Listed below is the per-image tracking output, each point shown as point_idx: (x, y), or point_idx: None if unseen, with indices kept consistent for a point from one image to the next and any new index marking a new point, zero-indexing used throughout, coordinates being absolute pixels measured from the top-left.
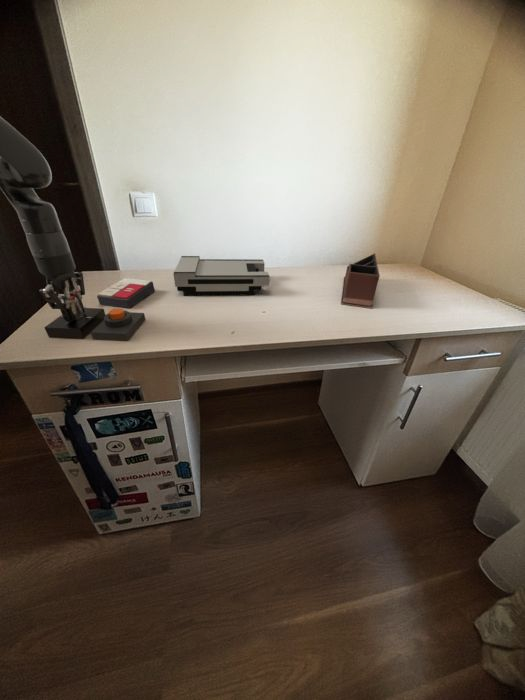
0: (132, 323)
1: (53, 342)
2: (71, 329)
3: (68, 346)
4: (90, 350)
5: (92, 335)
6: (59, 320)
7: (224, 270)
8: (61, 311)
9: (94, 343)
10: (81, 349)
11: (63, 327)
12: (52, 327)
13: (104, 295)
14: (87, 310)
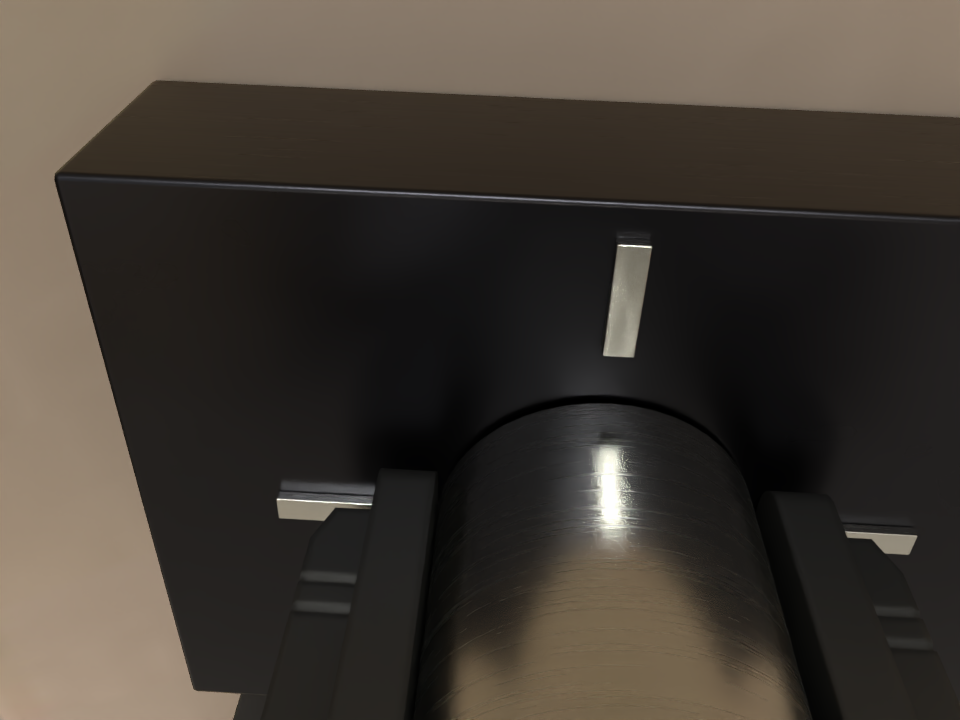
0: None
1: (46, 246)
2: (171, 593)
3: (33, 473)
4: (50, 674)
5: (241, 694)
6: (422, 315)
7: None
8: (269, 705)
9: (186, 663)
10: (33, 606)
11: (165, 503)
12: (102, 341)
13: None
14: (907, 577)
